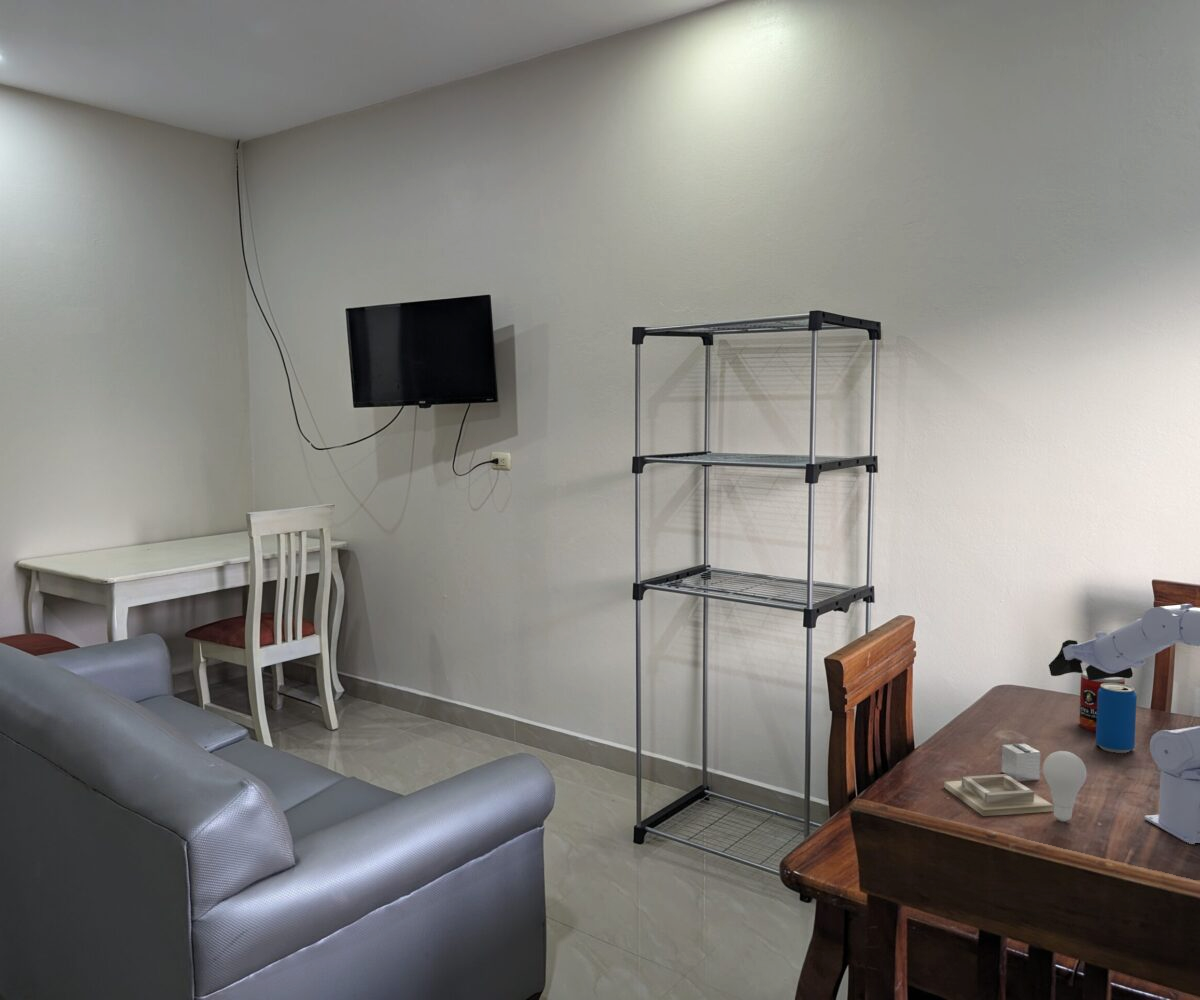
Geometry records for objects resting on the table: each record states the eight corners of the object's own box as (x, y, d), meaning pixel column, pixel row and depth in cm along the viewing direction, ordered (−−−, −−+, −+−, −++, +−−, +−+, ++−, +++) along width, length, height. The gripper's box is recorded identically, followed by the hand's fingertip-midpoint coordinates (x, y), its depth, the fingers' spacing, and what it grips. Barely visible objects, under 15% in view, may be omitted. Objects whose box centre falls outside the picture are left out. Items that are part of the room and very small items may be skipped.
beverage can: (1139, 755, 176) (1142, 692, 175) (1101, 753, 177) (1104, 690, 176) (1127, 744, 182) (1130, 683, 181) (1091, 742, 184) (1093, 681, 183)
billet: (1039, 780, 164) (1040, 750, 164) (1016, 781, 164) (1017, 752, 163) (1024, 770, 169) (1025, 742, 168) (1001, 772, 168) (1002, 743, 167)
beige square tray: (1052, 811, 151) (1053, 796, 150) (983, 816, 149) (983, 800, 149) (1009, 783, 162) (1009, 769, 162) (944, 787, 161) (944, 773, 160)
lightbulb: (1071, 812, 150) (1074, 745, 149) (1092, 828, 144) (1095, 758, 143) (1033, 813, 150) (1036, 745, 149) (1053, 829, 144) (1055, 759, 143)
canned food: (1070, 724, 194) (1072, 672, 194) (1097, 719, 198) (1099, 667, 197) (1104, 735, 187) (1106, 681, 187) (1131, 730, 191) (1133, 676, 190)
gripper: (1157, 626, 157) (1098, 654, 168) (1084, 617, 153) (1029, 646, 165) (1170, 667, 153) (1109, 693, 165) (1095, 658, 150) (1038, 685, 161)
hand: (1070, 672), depth 164 cm, fingers open, 7 cm apart
